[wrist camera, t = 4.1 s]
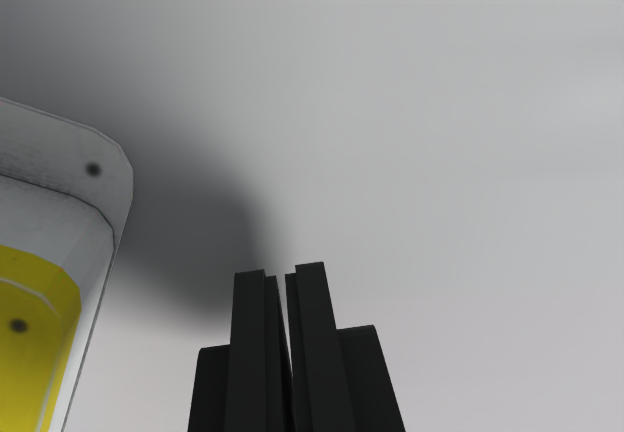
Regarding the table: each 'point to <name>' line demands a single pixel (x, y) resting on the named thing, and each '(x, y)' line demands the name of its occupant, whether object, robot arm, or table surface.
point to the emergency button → (53, 257)
